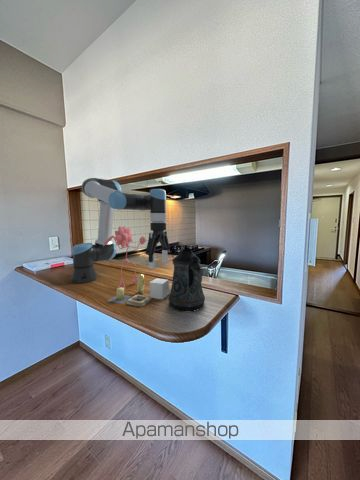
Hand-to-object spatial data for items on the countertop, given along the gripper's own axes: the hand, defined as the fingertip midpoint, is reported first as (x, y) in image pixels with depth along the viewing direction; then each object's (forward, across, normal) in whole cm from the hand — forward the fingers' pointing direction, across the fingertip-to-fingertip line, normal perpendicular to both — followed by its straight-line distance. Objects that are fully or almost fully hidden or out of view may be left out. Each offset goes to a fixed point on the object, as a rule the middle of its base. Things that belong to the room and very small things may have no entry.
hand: (158, 265), depth 99 cm
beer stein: (+16, +4, +18) cm, 24 cm away
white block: (+16, 0, 0) cm, 16 cm away
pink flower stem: (+16, -8, -26) cm, 32 cm away
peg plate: (+16, +10, -16) cm, 25 cm away
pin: (+16, 0, -10) cm, 19 cm away
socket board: (+16, +10, -5) cm, 20 cm away
